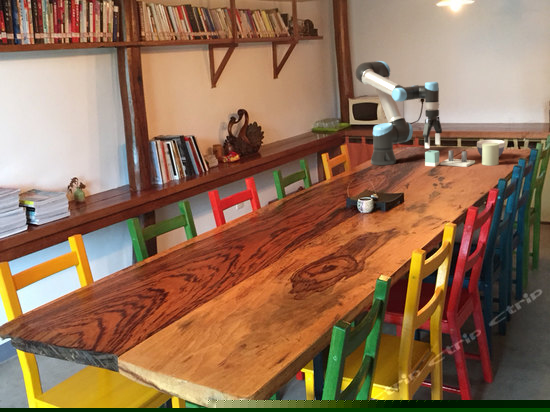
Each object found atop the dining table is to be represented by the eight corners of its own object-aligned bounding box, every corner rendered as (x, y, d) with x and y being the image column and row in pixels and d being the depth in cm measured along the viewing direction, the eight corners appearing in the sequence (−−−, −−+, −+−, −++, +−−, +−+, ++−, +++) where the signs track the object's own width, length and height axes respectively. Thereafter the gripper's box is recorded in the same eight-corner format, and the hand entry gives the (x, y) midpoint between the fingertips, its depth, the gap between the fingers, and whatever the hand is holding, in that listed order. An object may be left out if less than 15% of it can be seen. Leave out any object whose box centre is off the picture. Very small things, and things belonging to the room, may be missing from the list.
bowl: (508, 159, 373) (508, 143, 371) (481, 160, 374) (481, 144, 371) (499, 154, 389) (499, 139, 386) (473, 156, 389) (473, 140, 387)
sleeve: (425, 165, 371) (425, 152, 369) (429, 163, 375) (429, 150, 373) (434, 166, 367) (434, 152, 365) (439, 164, 371) (439, 150, 369)
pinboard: (440, 164, 370) (440, 152, 368) (448, 161, 379) (448, 148, 377) (466, 166, 360) (466, 153, 358) (474, 162, 369) (475, 150, 367)
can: (499, 165, 358) (500, 144, 355) (482, 165, 360) (483, 144, 357) (497, 162, 367) (498, 141, 364) (480, 162, 369) (481, 142, 366)
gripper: (428, 112, 351) (429, 150, 356) (447, 106, 370) (447, 143, 375) (416, 112, 356) (416, 149, 361) (435, 106, 375) (436, 142, 380)
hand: (432, 146), depth 368 cm, fingers open, 13 cm apart
